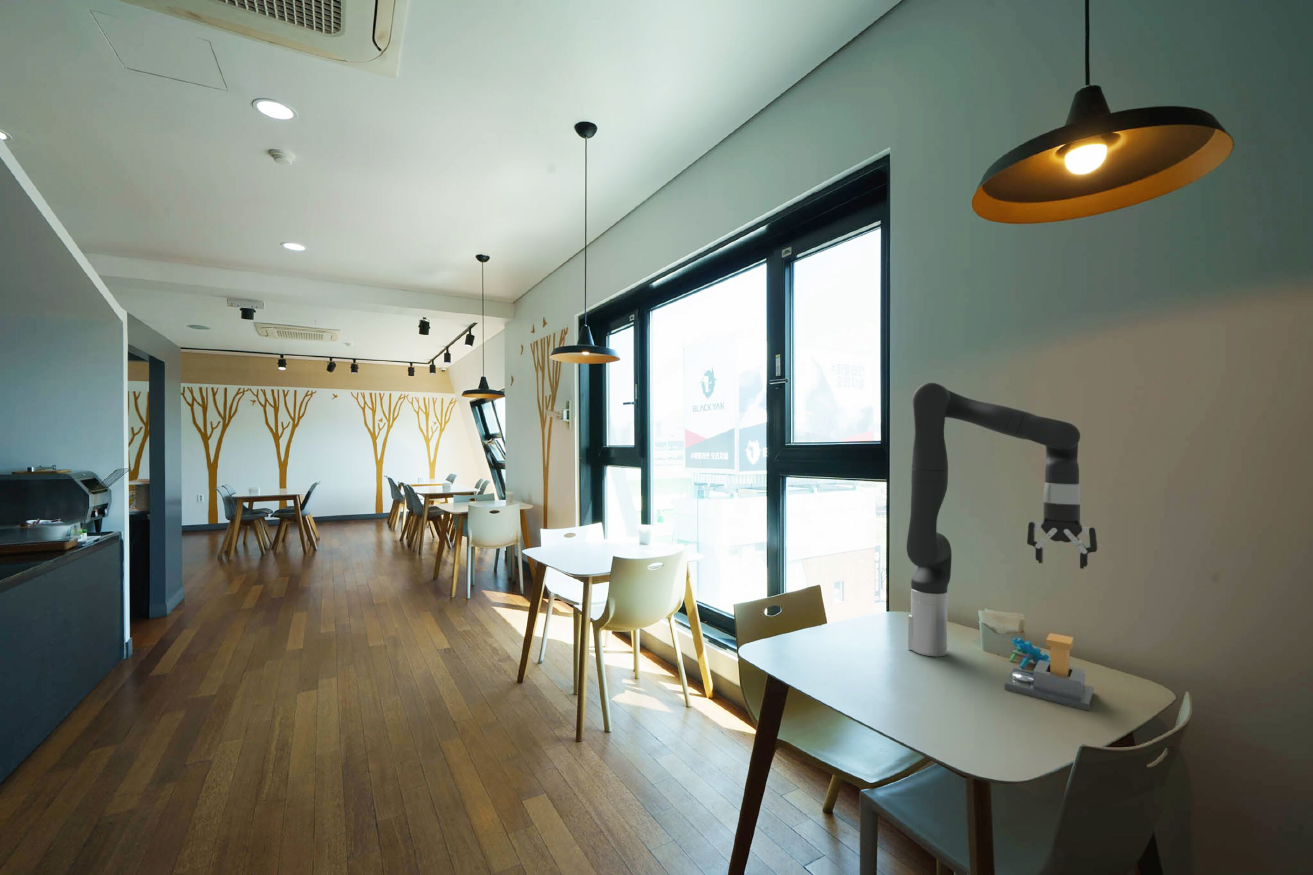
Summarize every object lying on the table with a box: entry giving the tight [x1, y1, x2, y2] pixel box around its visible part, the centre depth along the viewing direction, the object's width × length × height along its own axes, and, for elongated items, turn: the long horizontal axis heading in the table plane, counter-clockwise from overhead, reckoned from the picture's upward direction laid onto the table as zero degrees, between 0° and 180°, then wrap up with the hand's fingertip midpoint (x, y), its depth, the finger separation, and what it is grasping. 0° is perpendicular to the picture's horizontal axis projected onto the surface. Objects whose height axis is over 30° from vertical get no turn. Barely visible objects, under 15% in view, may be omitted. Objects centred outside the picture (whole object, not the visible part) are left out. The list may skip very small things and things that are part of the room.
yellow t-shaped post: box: [1045, 632, 1075, 677], centre depth 133 cm, size 5×6×11 cm
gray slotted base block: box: [1004, 660, 1094, 712], centre depth 134 cm, size 16×12×6 cm
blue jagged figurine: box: [1009, 637, 1050, 669], centre depth 149 cm, size 11×6×10 cm
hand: (1061, 565), depth 143 cm, fingers open, 8 cm apart
